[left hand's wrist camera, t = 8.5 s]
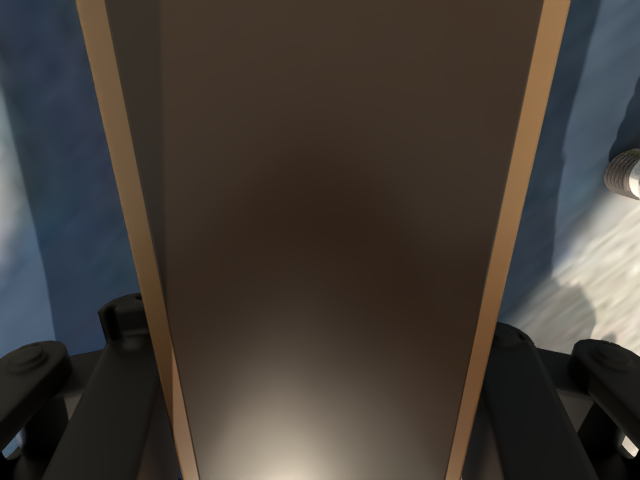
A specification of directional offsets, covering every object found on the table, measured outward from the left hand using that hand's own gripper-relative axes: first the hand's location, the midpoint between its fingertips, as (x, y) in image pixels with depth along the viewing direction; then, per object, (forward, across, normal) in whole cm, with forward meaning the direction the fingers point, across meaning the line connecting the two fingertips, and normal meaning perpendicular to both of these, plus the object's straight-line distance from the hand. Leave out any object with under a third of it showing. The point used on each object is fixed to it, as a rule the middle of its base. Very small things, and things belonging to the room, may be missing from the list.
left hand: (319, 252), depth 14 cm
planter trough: (+1, 0, -10) cm, 10 cm away
